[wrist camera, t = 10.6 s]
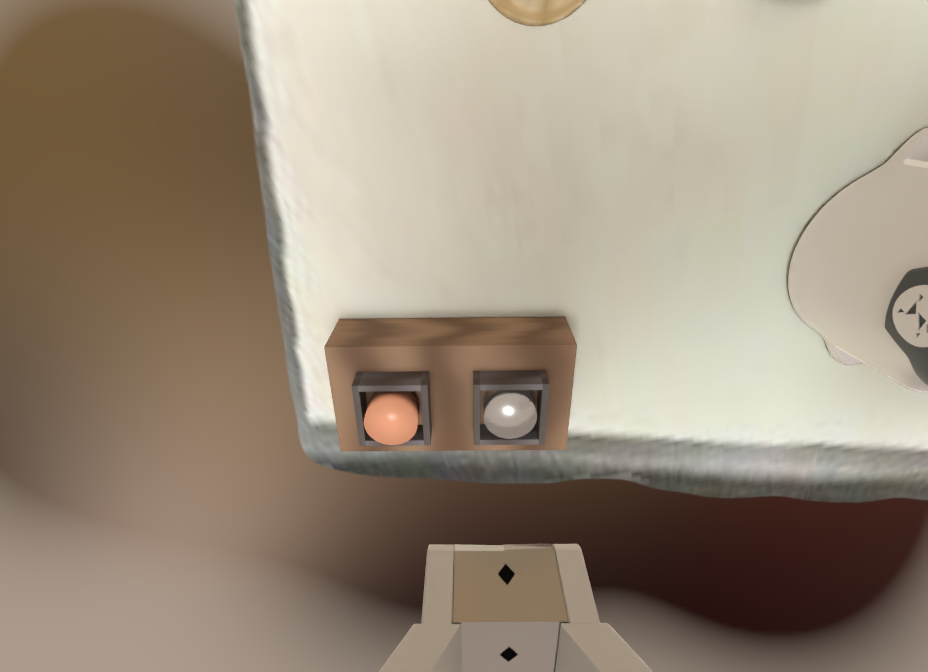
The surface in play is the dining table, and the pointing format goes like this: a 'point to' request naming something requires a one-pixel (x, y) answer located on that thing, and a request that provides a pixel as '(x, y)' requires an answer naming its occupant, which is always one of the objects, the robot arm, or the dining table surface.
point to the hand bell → (536, 10)
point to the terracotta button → (392, 417)
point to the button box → (452, 377)
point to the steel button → (509, 412)
